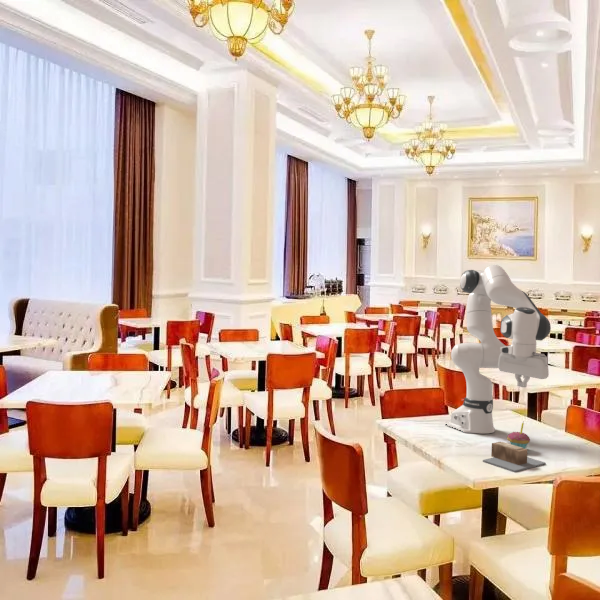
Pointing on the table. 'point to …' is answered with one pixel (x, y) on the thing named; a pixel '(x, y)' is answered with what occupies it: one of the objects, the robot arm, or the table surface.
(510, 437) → the cupcake
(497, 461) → the mat
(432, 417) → the table surface
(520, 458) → the walnut block
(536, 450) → the table surface
